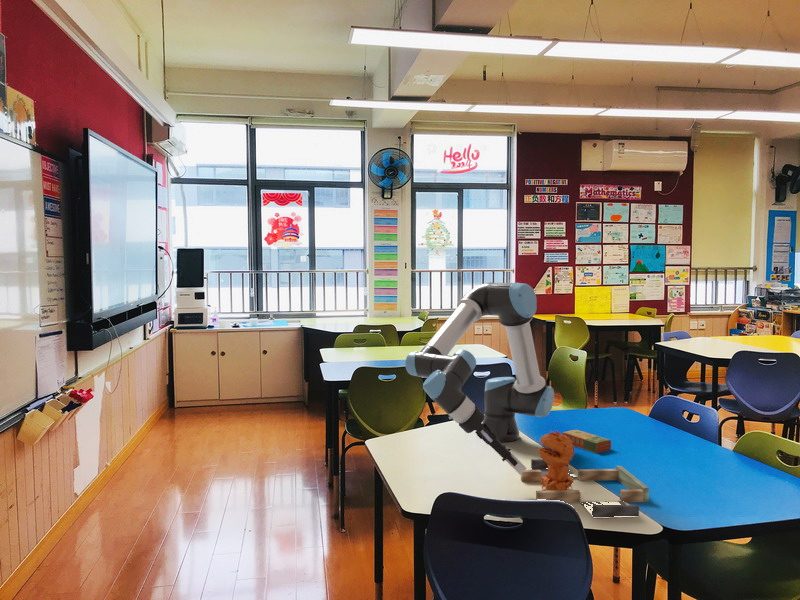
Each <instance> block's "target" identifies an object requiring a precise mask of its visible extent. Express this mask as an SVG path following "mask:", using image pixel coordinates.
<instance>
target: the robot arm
mask: <svg viewBox="0 0 800 600" xmlns="http://www.w3.org/2000/svg"><path fill="white" fill-rule="evenodd" d="M537 303H538V300H537V295H536V292H535V289H533V288H532V286H531V285H529V284H527V283H521V282H485V283H481V284H479V285H477V286H476V287H474V288H472V289H471V290H469V291H468V292H467V293H465V294H464V295H463V296H462V297H461V298H460V299H459V301H458V302H457V305H456V309H455V310H454V311H453V313H451V315H449V317H448V318H447V320H446V321H445V322H444V323H443V324H442V325H441V327H440V328H439V329H438V330H437V331H436V332H435V334H434V335H432V337H431V338H430V339H429V341H428V342H427V343H426V344H425V346H424V347H423V348H422V349H420V351H411V352H410V353H408V354H407V356H406V358H405V362H404V363H405V364H404V365H405V369H406V372H407V373H408V374H409V375H410V376H415V377H419V378H425V380H424V382H423V383H422V389H423V390H424V392H425V393H426V394H427V395H428V396H429V397H430V399H431V400H433V402H435V404H437V405H438V406H439V407H440V409H442V410H443V411H444V412H445V413H446V414H447V415H448V419H449V420H453V421H454V422H455V423H456V424H458V426H459V427H460V428H461V429H462V430H463V431H464V432H465V433H467V434H471V433H473V432H474V431H475V432H474V433H475V434H476V435H477V437H478V438H479V439H481V440H483V442H484V443H486V445H488V446H490V447H491V448H492V449H493V451H495V452H496V453H497V454H498V455H499V456H500V457H501V460H502V462H507V463H508V465H510V467H512V468H513V469H514V471H516V472H517V474H519V475H520V476H521V474H522V473H523V472H524V471H525V470H528V469H527V467H526V466H525V465H524V464H523V463H522V462H521V461H520V460H519V459H518V458H517V456H515V454H513V453H512V451H511V450H512V449H511V447H508V448H507V446H506V445H504V444H503V443H508V442H507V441H510V442H515V441H517V440H519V439H520V431H519V426H518V424H517V420H516V414H520V415H523V416H524V415H525V416H530V417H535V418H536V417H537V418H545V417H547V416H548V415H549V414H550V413H551V410H552V408H553V404H554V400H555V391H554V388H553V387H552V386H550V385H547V382H546V379H545V378H544V377H543V376H542V375H541V374H540V373H541V372H540V369H539V363H538V358H537V354H536V353H537V352H536V349H535V343H534V337H533V334H532V327H531V323H530V322H531V321H532V320H533V319H534V318H533V317H534V316H535V314H536V312H537V309H538V307H537V306H538V305H537ZM484 316H497V317H498V319H499V324H500V325H501V326H502V327H505V331H506V332H505V333H506V337H507V341H508V342H507V343H508V346H509V350H510V355H511V360H512V364H513V369H514V374H515V377H513V376H501V377H500V376H499V377H492V378H489V379H487V380H485V383H484V384H485V386H484V412H483V411H482V410H481V409H480V408H479V407H477V406H476V404H475V403H474V402H473V401H472V400H471V399H470V398H469V397H468V395H466V394H465V393H464V392H463V391H462V388H463V387H464V385H465V384H466V382H467V381H468V380H469V378H470V376H471V375H472V374H473V372H474V370H475V368H476V366H477V360H476V357H475V355H474V354H473V353H471V352H470V351H469V350H467V349H459V350H457V351H455V352H454V353H453V355H449V354H450V352H452V351H453V349H454V347H455V346H456V345H457V344H458V342H459V341H460V340H461V339H462V338H463V337H464V335H465V334H466V333H467V332H468V330H469V329H470V327H471V326H472V325H473V324H474V323H475V322H478V321H480V319H482V317H484ZM514 440H515V441H514Z"/></svg>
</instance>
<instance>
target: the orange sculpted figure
mask: <svg viewBox="0 0 800 600" xmlns="http://www.w3.org/2000/svg"><path fill="white" fill-rule="evenodd" d="M539 442H540V444H542V447H539V448H537V450H538V454H539V457H540V459H543V460H544V461H545V462H546V463H547V466H548V474H544V475H543V477H542V478H541V481H539V482H540V486H541V489H544V488H545V491H548V490H570V488H572V489H573V487H572V485H573V483H574V481H575V480H574V479H572V477H569V476H568V471H569V469H570V468H569V464H570V461H572V460H573V458H574V456H575V446H574V444H573V443H572V441H571V440H570V439H569V437H567V436H566V435H562V433H560V432H559V431H558V430H557V429H556V430H555V432H554V431H552V430H550V432H549V433H546V434H544V435H543V436H541V437H540V438H539ZM572 445H573V446H572ZM567 464H568V466H565V465H567Z"/></svg>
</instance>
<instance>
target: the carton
mask: <svg viewBox="0 0 800 600" xmlns="http://www.w3.org/2000/svg"><path fill="white" fill-rule="evenodd" d="M561 434H562V435H566V436H567V437H569V439H570V440H571V441H572V443H573V444H574V448H575V447H576V448H579V449H581V450H585V451H588V452H591V453H593V454H600V453H604V452H608V451H611V450H612V441H611V439H609V438H605V437H602V436H599V435H597V434H592V433H590V432H586V431H582V430H578V429H573V430H572V429H571V430H568V431H563V432H562V433H561ZM572 446H573V445H572Z"/></svg>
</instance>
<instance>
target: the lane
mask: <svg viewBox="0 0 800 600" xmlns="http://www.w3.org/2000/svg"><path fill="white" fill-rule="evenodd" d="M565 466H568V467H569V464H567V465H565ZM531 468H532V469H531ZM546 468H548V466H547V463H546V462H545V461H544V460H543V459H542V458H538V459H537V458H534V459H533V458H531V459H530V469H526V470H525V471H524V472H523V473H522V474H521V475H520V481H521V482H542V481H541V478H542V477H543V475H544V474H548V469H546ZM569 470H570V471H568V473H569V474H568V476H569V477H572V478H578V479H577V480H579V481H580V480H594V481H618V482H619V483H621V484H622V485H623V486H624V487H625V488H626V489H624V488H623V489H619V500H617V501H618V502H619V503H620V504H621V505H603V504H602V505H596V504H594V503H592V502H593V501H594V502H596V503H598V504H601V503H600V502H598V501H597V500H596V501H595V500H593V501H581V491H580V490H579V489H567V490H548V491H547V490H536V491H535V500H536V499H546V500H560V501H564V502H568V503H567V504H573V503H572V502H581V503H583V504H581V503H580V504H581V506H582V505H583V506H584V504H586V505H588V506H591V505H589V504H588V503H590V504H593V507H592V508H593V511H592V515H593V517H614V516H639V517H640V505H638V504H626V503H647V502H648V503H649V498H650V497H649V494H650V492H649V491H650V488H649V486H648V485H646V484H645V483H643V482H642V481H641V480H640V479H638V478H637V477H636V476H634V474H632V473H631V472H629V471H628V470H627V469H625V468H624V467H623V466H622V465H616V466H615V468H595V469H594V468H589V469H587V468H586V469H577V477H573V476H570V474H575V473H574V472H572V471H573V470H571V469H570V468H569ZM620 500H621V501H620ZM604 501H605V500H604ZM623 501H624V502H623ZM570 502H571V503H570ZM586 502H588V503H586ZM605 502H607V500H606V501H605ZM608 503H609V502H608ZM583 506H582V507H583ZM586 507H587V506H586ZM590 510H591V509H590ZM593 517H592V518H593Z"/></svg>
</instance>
